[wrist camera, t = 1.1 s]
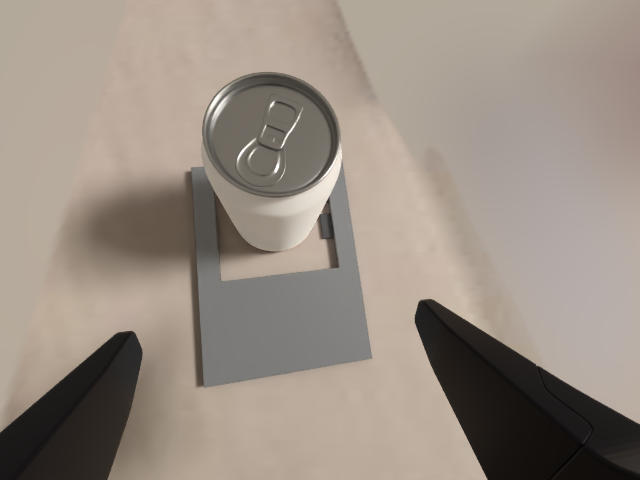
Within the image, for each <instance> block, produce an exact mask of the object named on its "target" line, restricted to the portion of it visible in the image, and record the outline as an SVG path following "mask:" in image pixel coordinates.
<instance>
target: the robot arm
mask: <svg viewBox="0 0 640 480" xmlns="http://www.w3.org/2000/svg"><path fill="white" fill-rule="evenodd" d="M415 324H416V327H417V330H418V332H419V335H420V338H421V340H422V343H423V346H424V348H425V351H426V354H427V356H428V359H429V361H430V364H431V366H432V368H433V371H434V373H435V375H436V377H437V379H438V381H439V383H440V385H441V387H442V389H443V391H444V393H445V395H446V397H447V399H448V401H449V403H450V405H451V407H452V409H453V411H454V413H455V415H456V417H457V419H458V421H459V423H460V425H461V427H462V429H463V431H464V433H465V435H466V437H467V439H468V441H469V443H470V445H471V447H472V449H473V451H474V453H475V455H476V457H477V459H478V461H479V463H480V465H481V467H482V469H483V471H484V473H485V475H486V477H487V479H488V480H640V424H638V423H636V422H634V421H633V420H631V419H629V418H627V417H625V416H623V415H622V414H620V413H618V412H616V411H615V410H613V409H611V408H609V407H607V406H605V405H603V404H602V403H600V402H598V401H596V400H595V399H593V398H591V397H589V396H588V395H586V394H584V393H582V392H581V391H579V390H577V389H575V388H574V387H572V386H570V385H569V384H567V383H565V382H563V381H562V380H560V379H559V378H557V377H555V376H554V375H552V374H551V373H549V372H547V371H546V370H544V369H543V368H541V367H539V366H536V364H535V363H533V362H531V361H530V360H528V359H527V358H525V357H523V356H522V355H520V354H519V353H517V352H515V351H514V350H512V349H511V348H509V347H507V346H506V345H504V344H503V343H501V342H500V341H498V340H496V339H495V338H493V337H492V336H490V335H488V334H487V333H485V332H484V331H482V330H480V329H479V328H477V327H476V326H474V325H473V324H471V323H469V322H468V321H466V320H465V319H463V318H461V317H460V316H458V315H457V314H455V313H453V312H452V311H450V310H449V309H447V308H445V307H444V306H442V305H441V304H439V303H438V302H436V301H434V300H432V299H425V300H420V301H419V303H418V307H417V311H416V314H415ZM141 361H142V348H141V346H140V343H139V341H138V338H137V336H136V334H135V333H134V332H133V331H126V332H119V333H117V334H115V335H114V336H113V337H111V338H110V339H109V340H108V341H107V342H106V343H104V344H103V345H102V346H101V347H100V348H99V349H97V350H96V351H95V352H94V353H93V354H92V355H90V356H89V357H88V358H87V359H86V360H85V361H83V362H82V363H81V364H80V365H79V366H78V367H76V368H75V369H74V370H73V371H72V372H71V373H69V374H68V375H67V376H66V377H65V378H64V379H62V380H61V381H60V382H59V383H58V384H57V385H55V386H54V387H53V388H52V389H51V390H50V391H48V392H47V393H46V394H45V395H44V396H43V397H41V398H40V399H39V400H38V401H37V402H36V403H34V404H33V405H32V406H31V407H30V408H29V409H27V410H26V411H25V412H24V413H23V414H22V415H20V416H19V417H18V418H17V419H16V420H14V421H13V422H12V423H11V424H10V425H9V426H7V427H6V428H5V429H4V430H3V431H2V432H0V480H108V477H109V474H110V471H111V468H112V465H113V462H114V459H115V456H116V453H117V450H118V447H119V444H120V441H121V438H122V435H123V432H124V429H125V426H126V423H127V420H128V417H129V413H130V410H131V406H132V402H133V398H134V393H135V388H136V384H137V379H138V375H139V370H140V365H141Z"/></svg>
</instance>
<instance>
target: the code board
mask: <svg viewBox="0 0 640 480" xmlns="http://www.w3.org/2000/svg"><path fill="white" fill-rule="evenodd" d="M191 172H192V190H193V207H194V224H195V241H196V259H197V276H198V293H199V310H200V328H201V345H202V362H203V379H204V388H205V387H211V386H217V385H223V384H228V383H234V382H240V381H245V380H251V379H257V378H263V377H268V376H274V375H280V374H286V373H291V372H297V371H303V370H308V369H314V368H320V367H326V366H331V365H337V364H343V363H349V362H354V361H360V360H366V359H371V358H372V354H371V348H370V341H369V335H368V328H367V321H366V315H365V308H364V302H363V295H362V288H361V282H360V275H359V269H358V262H357V255H356V249H355V242H354V236H353V229H352V222H351V216H350V209H349V203H348V196H347V189H346V183H345V176H344V170H343V163H342V161H341V168H340V172H339V175H338V178H337V181H336V183H335V185H334V188H333V190H332V192H331V194H330V196H329V198H328V199H327V201H326V203H328V201H329V208H330V214H320V221H321V229H322V236H323V239H327V238H333V236H334V244H335V251H336V258H337V265H338V268H332V269H324V270H315V271H307V272H299V273H290V274H282V275H273V276H265V277H257V278H248V279H240V280H231V281H223V282H221V274H220V260H219V246H218V232H217V218H216V204H215V191H214V189H213V187H212V185H211V183H210V181H209V179H208V177H207V175H206V172H205V169H204V167H192V168H191ZM330 215H331V220H330ZM331 222H332V227H331ZM332 229H333V234H332Z"/></svg>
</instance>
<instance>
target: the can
mask: <svg viewBox="0 0 640 480" xmlns="http://www.w3.org/2000/svg"><path fill="white" fill-rule="evenodd" d="M202 136H203V139H202V148H201V151H202V161H203V165H204V169H205V172H206V175H207V177H208V179H209V181H210V183H211V185H212V187H213V189H214V191H215V193H216V194H217V196H218V198H219V200H220V202H221V203H222V205H223V207H224V209H225V210H226V212H227V214H228V215H229V217H230V219H231V221H232V222H233V224H234V226H235V227H236V229H237V231H238V232H239V233H240V235H241V236H242V237H243V238H244V239H245V240H246V241H247V242H248V243H249V244H250V245H252V246H254V247H256V248H258V249H262V250H266V251H284V250H288V249H290V248H293V247H295V246H296V245H298V244H299V243H301V242H302V241H303V240H304V239H305V238H306V237H307V236H308V234H309V233H310V231H311V229H312V228H313V226H314V224H315V222H316V220H317V219H318V217H319V215H320V213H321V211H322V209H323V207H324V205H325V203H326V201H327V199H328V198H329V196H330V194H331V192H332V190H333V188H334V185H335V183H336V181H337V178H338V175H339V172H340V168H341V161H342V150H341V143H340V142H341V135H340V127H339V123H338V120H337V117H336V114H335V112H334V110H333V108H332V107H331V105H330V104H329V102H328V101H327V100H326V98H325V97H324V96H323V95H322V94H321V93H320V92H319V91H318V90H316V89H315V88H314V87H313V86H311V85H310V84H308V83H306V82H305V81H303V80H301V79H298V78H296V77H293V76H290V75H287V74H282V73H276V72H259V73H253V74H249V75H245V76H242V77H240V78H237V79H235V80H233V81H232V82H230V83H228V84H227V85H226V86H224V87H223V88H222V89H221V90H220V91H219V92H218V93H217V94H216V95H215V96H214V98H213V99H212V101H211V102H210V104H209V106H208V108H207V110H206V113H205V116H204V120H203V127H202Z"/></svg>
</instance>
